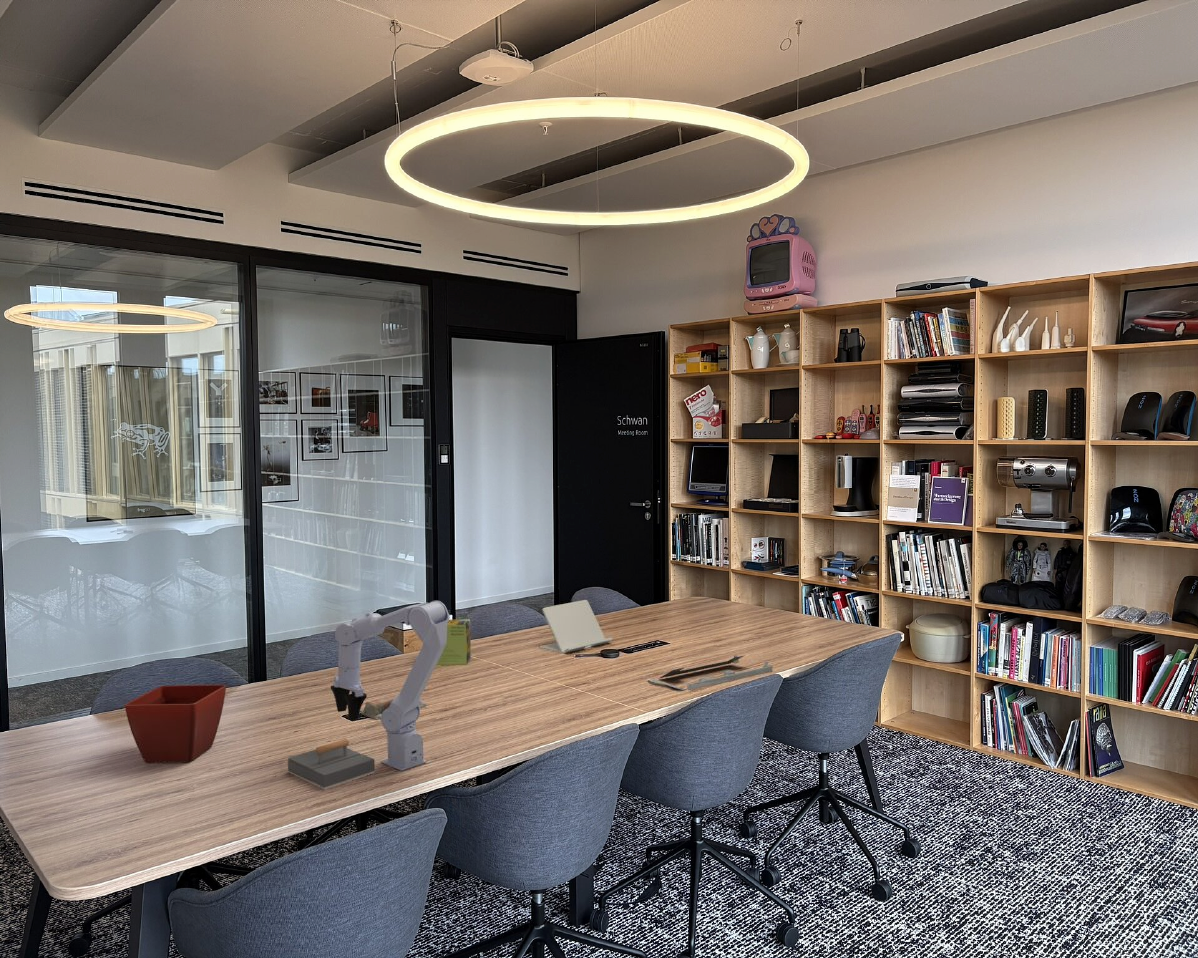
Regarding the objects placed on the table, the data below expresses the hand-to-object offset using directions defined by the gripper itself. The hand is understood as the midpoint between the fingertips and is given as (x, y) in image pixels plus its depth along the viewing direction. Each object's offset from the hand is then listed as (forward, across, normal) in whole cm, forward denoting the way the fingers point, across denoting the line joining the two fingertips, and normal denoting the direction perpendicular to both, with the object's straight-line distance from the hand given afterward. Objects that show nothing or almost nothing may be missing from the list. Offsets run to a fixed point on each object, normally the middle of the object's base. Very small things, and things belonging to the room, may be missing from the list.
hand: (347, 715), depth 236 cm
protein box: (+13, -70, +72) cm, 102 cm away
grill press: (+8, +7, -9) cm, 14 cm away
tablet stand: (+10, -57, +124) cm, 137 cm away
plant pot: (+15, -31, -34) cm, 48 cm away
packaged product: (+12, -28, +28) cm, 41 cm away
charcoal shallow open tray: (+10, +10, -8) cm, 17 cm away
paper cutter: (+6, +12, +129) cm, 130 cm away
